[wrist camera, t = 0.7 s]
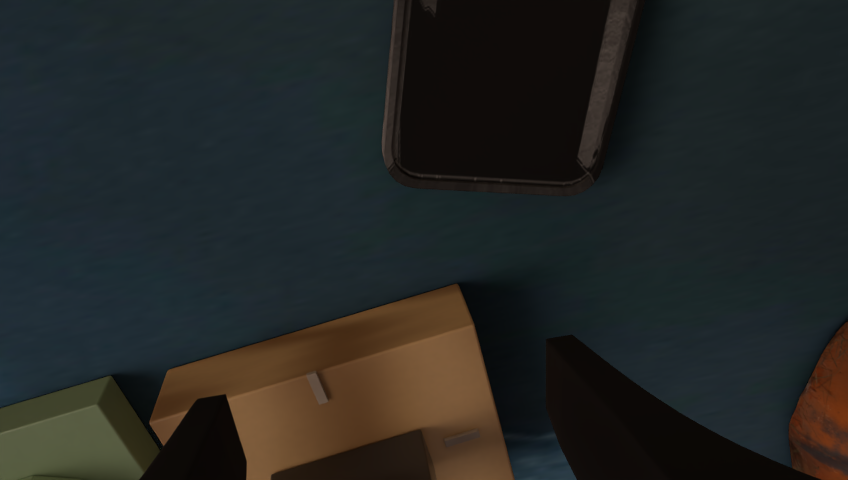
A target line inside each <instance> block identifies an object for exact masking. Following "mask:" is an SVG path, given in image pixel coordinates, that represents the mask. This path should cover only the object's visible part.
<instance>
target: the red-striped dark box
mask: <svg viewBox="0 0 848 480" xmlns="http://www.w3.org/2000/svg"><path fill="white" fill-rule="evenodd" d="M271 480H437V478H436V473H435V468H434V465H433V462H432V459H431V456H430V453H429V450H428V448H427V445H426V442H425V439H424V436H423V433H422V431H421V430H416V431H412V432H409V433H406V434H403V435H399V436H396V437H393V438H389V439H386V440H383V441H380V442H376V443H373V444H370V445H366V446H363V447H360V448H357V449H353V450H350V451H347V452H343V453H340V454H337V455H334V456H330V457H327V458H324V459H320V460H317V461H314V462H311V463H307V464H304V465H301V466H297V467H294V468H291V469H287V470H284V471H281V472H278V473H274V474H272V475H271Z"/></svg>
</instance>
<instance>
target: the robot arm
mask: <svg viewBox="0 0 848 480" xmlns="http://www.w3.org/2000/svg"><path fill="white" fill-rule="evenodd" d="M546 409H547V412H548V415H549V417H550V420H551V423H552V426H553V429H554V431H555V434H556V436H557V439H558V442H559V444H560V447H561V449H562V451H563V453H564V455H565V457H566V459H567V461H568V463H569V465H570V467H571V469H572V471H573V473H574V475H575V477H576V478H577V480H821V479H819V478H816V477H813V476H811V475H808V474H805V473H803V472H800V471H798V470H795V469H792V468H790V467H788V466H785V465H783V464H780V463H778V462H775V461H773V460H771V459H769V458H766V457H764V456H762V455H760V454H758V453H755V452H753V451H751V450H749V449H747V448H745V447H742V446H740V445H738V444H736V443H734V442H732V441H730V440H728V439H726V438H724V437H722V436H720V435H718V434H717V433H715V432H713V431H711V430H709V429H707V428H706V427H704V426H702V425H700V424H698V423H696V422H695V421H693V420H691V419H689V418H688V417H686V416H684V415H683V414H681V413H679V412H678V411H676V410H675V409H673V408H672V407H670V406H668V405H667V404H665V403H664V402H662V401H661V400H659V399H657V398H656V397H654V396H653V395H651V394H650V393H649V392H647V391H646V390H644V389H643V388H641V387H640V386H639V385H637V384H636V383H634V382H633V381H632V380H630V379H629V378H627V377H626V376H625V375H623V374H622V373H621V372H619V371H618V370H617V369H615V368H614V367H613V366H611V365H610V364H609V363H608V362H606V361H605V360H604V359H602V358H601V357H600V356H599V355H597V354H596V353H595V352H593V351H592V350H591V349H590V348H588V347H587V346H586V345H585V344H583V343H582V342H581V341H579V340H578V339H577V338H575V337H574V336H573V335H567V336H561V337H555V338H549V339H546ZM246 477H247V460H246V457H245V454H244V450H243V447H242V444H241V441H240V438H239V435H238V431H237V428H236V425H235V422H234V419H233V416H232V412H231V409H230V406H229V403H228V400H227V397H226V394H222V395H216V396H210V397H205V398H199V399H197V400H196V401H195V402H194V403H193V405H192V406H191V408H190V409H189V410H188V412H187V413H186V415H185V416H184V418H183V419H182V421H181V422H180V424H179V425H178V426H177V428H176V429H175V431H174V432H173V434H172V435H171V437H170V438H169V439H168V441H167V442H166V444H165V445H164V446H163V448H162V449H161V451H160V452H159V453H158V455H157V456H156V458H155V459H154V460H153V462H152V463H151V464H150V466H149V467H148V468H147V470H146V471H145V472H144V474H143V475H142V477H141V478H140V479H139V480H246Z"/></svg>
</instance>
